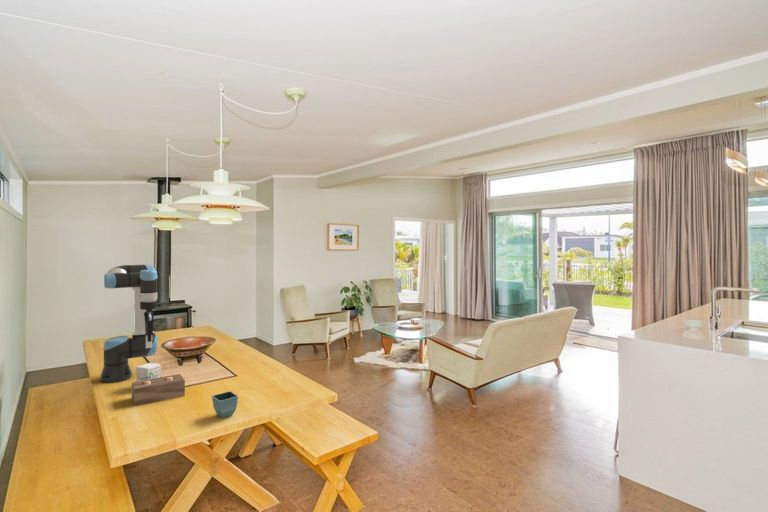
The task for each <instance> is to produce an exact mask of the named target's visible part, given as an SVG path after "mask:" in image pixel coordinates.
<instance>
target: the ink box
mask: <svg viewBox="0 0 768 512" xmlns="http://www.w3.org/2000/svg"><path fill="white" fill-rule="evenodd" d="M135 367H136V368H135V373H136V374H135V377H136V378H135V382H136V381H142V380H148V379H153V378H159V377H162V376H161V375H162V370H161V369H162V366H161V364H159V363H156V362H155V363H154V362H148V363H145V364H141V365H137V366H135Z"/></svg>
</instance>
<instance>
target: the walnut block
mask: <svg viewBox="0 0 768 512" xmlns="http://www.w3.org/2000/svg"><path fill="white" fill-rule="evenodd" d="M167 377H173V380H170V381H166V378H167ZM144 381H151V384H147V385H143V382H144ZM185 388H186V381H185V378H184V377H183V376H182V375H181V374H179V373H178V374H171V375H167V376H161V377H159V378H153V379H148V380H142V381H136V380H135V381H132V382H131V399H132V403H133V405H134V406H135V407H136V406H141V405H145V404H150V403H155V402H156V403H157V402H160V401H165V400H170V399H171V400H172V399H175V398H180V397H185V395H186V389H185Z"/></svg>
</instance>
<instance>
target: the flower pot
mask: <svg viewBox="0 0 768 512" xmlns="http://www.w3.org/2000/svg"><path fill="white" fill-rule="evenodd" d="M211 398H212V399H211V401H212V406H213V410H214V411H215V413H216V414H217V416H219V417H220V418H222V419H224V418H227V417H231V416H233V415H234V413H235V412H236V410H237V407H238V401H239V400H238V399H239V395H237V394H235V393H234V392H233V391H232V390H231V391H230V390H229V391H226V392H225V391H224V392H221V393H218V394H213V395H212V396H211Z"/></svg>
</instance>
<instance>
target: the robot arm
mask: <svg viewBox="0 0 768 512" xmlns="http://www.w3.org/2000/svg"><path fill="white" fill-rule="evenodd" d="M103 282H104V283H103V287H104V288H105V289H124V288H125V289H126V288H131V289H132V290H133V291H134V328H135V330H134V332H133V333H132V334H131V337H129V336H128V335H118V336H114V337H110V338H108V339H105V340H104V342H103V348H102V350H103V367H102V371H101V373H100V375H99V380H100V382H101V383H106V384H107V383H117V382H118V383H119V382H122V381H126V380H128V379H131V378H132V376H133V373H132V370H131V367H130V364H129V360H130V359H136V358H145V357H152V356H155V354H156V353H157V350H158V343H159V336H158V335H156V332H155V331H154V317H155V315H154V313H155V312H154V311H153V310H155V309H158V301H157V300H158V271H157V270H156V268H155V267H154V265H153V264H129V265H128V264H122V265H119V266H114V267H112V268H111V269H109V270H108V271H107V272H106V273H105V274H104V275H103Z"/></svg>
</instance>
